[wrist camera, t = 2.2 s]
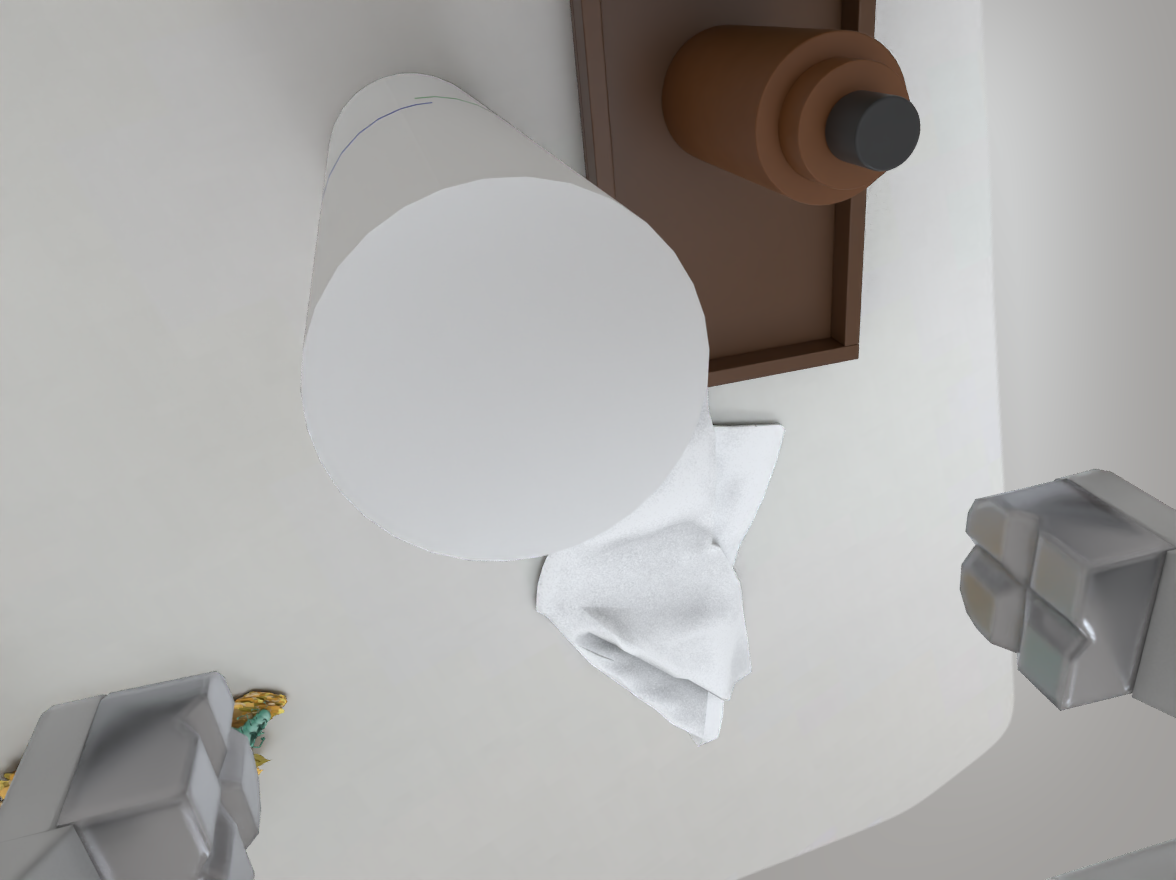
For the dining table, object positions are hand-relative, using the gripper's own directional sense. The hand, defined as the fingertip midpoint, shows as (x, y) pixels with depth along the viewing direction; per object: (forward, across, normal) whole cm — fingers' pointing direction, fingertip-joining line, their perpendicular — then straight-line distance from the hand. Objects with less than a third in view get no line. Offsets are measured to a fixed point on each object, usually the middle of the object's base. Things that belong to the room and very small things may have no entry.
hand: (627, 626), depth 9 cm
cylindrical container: (+32, 0, 0) cm, 32 cm away
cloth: (+32, -9, +24) cm, 41 cm away
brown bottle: (+31, -14, -1) cm, 34 cm away
